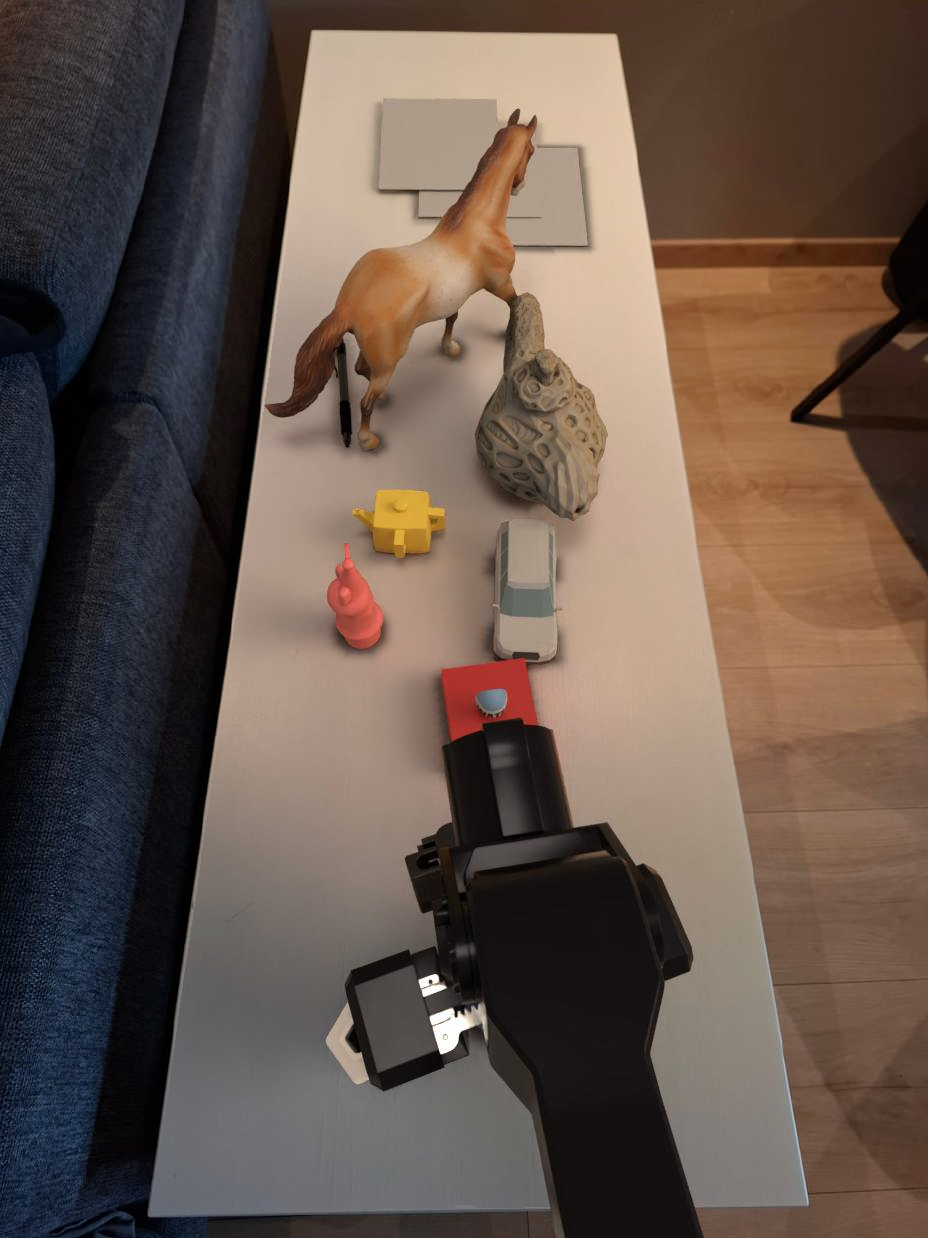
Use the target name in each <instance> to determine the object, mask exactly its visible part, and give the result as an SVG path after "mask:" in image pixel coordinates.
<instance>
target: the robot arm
mask: <svg viewBox="0 0 928 1238" xmlns="http://www.w3.org/2000/svg"><path fill="white" fill-rule="evenodd" d="M440 750H441V751H440V753H441V758H442V763H443V764H442V765H443V770H444V776H445V783H446V784H445V785H446V790H447V791H446V792H447V797H448V804H449V810H450V816H451V817H450V818H451V821H450V822H447V823H445V824H443V825H441V826H439V828H438V829H437V831H436V832H435V833H434V834H431V835H429V836H426V837H423V838H420V841H421V844H418V845H416V849H417V851H416V852H413V853H410V854H407V855H405V857H404V862H405V866H406V870H407V872H408V876H409V880H410V883H411V885H412V889H413V892H414V896H415V899H416V902H417V905H418V908H419V910H420V913H421V914H423V915H424V914H427V913H430V912H432V917H433V925H434V932H435V939H436V945H433V946H430V947H427V948H425V949H422V950H419V951H417V952H413V953H411V949H409V948H408V949H405V950H402V951H399V952H396V953H394V954H392V955H389V956H386V957H383V958H380V959H378V960H375V961H373V962H370V963H366V964H365V965H361V966H359V967H356V968H353V969H351V970H350V972H349V973H348V976H347V978H346V980H345V982H344V991H345V997H346V1000H347V1002H348V1004H349V1008H350V1011H351V1015H352V1019H353V1023H354V1027H355V1030H356V1034H357V1038H358V1042H359V1046H360V1049H361V1053H362V1057H363V1061H364V1064H365V1068H366V1072H367V1075H368V1078H369V1080H368V1081H369V1083H370V1085H371V1086H373V1087H374V1088H376V1089H378V1090H380V1091H382V1092H386V1091H389V1090H391V1089H394V1088H397V1087H400V1086H402V1085H404V1084H407V1083H409V1082H412V1081H415V1080H417V1079H419V1078H420V1079H421V1078H422V1077H425V1076H427V1075H430V1074H432V1073H435V1072H438V1071H440V1070H442V1069H445V1068H446V1067H445V1066H446V1065H449V1064H451V1063H454V1062H457V1061H459V1060H461V1059H464V1058H467V1057H469V1056H470V1034H469V1029H472V1028H474V1027H478V1026H477V1025H479V1024H483V1029H484V1033H483V1035H484V1040H485V1046H486V1052H487V1057H488V1061H489V1065H490V1066H491V1069H492V1070H493V1071H494V1072H495V1073H496V1074H497V1076H499V1078H500V1079H501V1080H502V1081H503V1082H504V1083H505V1085H506V1086H507V1088H509V1089H510V1090H511V1092H512V1094H514V1095H515V1096H516V1098H517V1099H518V1100H519V1101H520V1102H521V1104H522V1105H523V1106H524V1107H525V1109H527V1111H528V1112H529V1113H530V1115H531V1118H532V1122H533V1123H532V1124H533V1128H534V1132H535V1137H536V1142H537V1147H538V1151H539V1158H540V1162H541V1168H542V1172H543V1177H544V1183H545V1188H546V1192H547V1198H548V1203H549V1209H550V1214H551V1219H552V1224H553V1229H554V1234H555V1238H705V1237H704V1233H703V1230H702V1226H701V1223H700V1219H699V1216H698V1214H697V1210H696V1207H695V1204H694V1200H693V1196H692V1193H691V1190H690V1187H689V1183H688V1179H687V1176H686V1173H685V1170H684V1166H683V1163H682V1160H681V1156H680V1153H679V1150H678V1147H677V1143H676V1140H675V1135H674V1133H673V1129H672V1126H671V1123H670V1120H669V1116H668V1113H667V1110H666V1107H665V1103H664V1100H663V1097H662V1093H661V1089H660V1086H659V1082H658V1078H657V1074H656V1071H655V1067H654V1063H653V1058H652V1055H651V1051H652V1047H653V1042H654V1038H655V1033H656V1029H657V1024H658V1019H659V1015H660V1010H661V1005H662V1002H663V997H664V993H665V985H666V982H667V981H670V980H672V979H674V978H677V977H679V976H682V975H686V974H687V973H690V972H691V969H692V965H693V962H694V959H695V958H694V953H693V946H692V944H691V942H690V939H689V937H688V935H687V932H686V930H685V928H684V926H683V923H682V920H681V918H680V917H679V914H678V912H677V910H676V908H675V905H674V903H673V900H672V897H671V896H670V893H669V891H668V889H667V886H666V885H665V882H664V879H663V878H662V876H661V875H660V874H659V873H658V871H657V870H656V869H655V868H652V867H651V866H649V865H647V864H645V863H640V864H636V863H635V861H634V860H633V858H632V857H631V856H630V854H629V853H628V850H627V849H626V848H625V846H624V845H623V843H622V842H621V841H620V839H619V837H618V836H617V834H616V832H615V831H614V830H613V828H612V827H611V825H610V824H609V822H608V821H606V822H600V823H594V824H587V825H580V826H574V820H573V816H572V811H571V807H570V802H569V798H568V793H567V788H566V784H565V779H564V775H563V770H562V765H561V761H560V760H561V759H560V756H559V752H558V746H557V742H556V738H555V732H554V729H551V728H549V727H547V726H543V725H539V724H538V725H528V724H524V722H523V719H522V718H521V717H520V718H514V719H507V720H500V721H493V722H486V723H482V730H480V731H476V732H473V733H470V734H467V735H465V736H462V737H460V738H458V739H456V740H454V741H452V742H451V741H450V742H449V743H447V744H446V743H445V744H443V745H442V746H441V749H440ZM474 1002H478V1010H476V1008H475V1007H474V1006H473V1005H472V1006H471V1012H469V1011H468V1009H467V1008H465V1007H464V1004H469V1003H474Z"/></svg>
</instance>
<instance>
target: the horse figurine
mask: <svg viewBox="0 0 928 1238" xmlns="http://www.w3.org/2000/svg"><path fill="white" fill-rule="evenodd" d="M520 116H521V109H520V108H516V109H514V111H513V112H512V113H511V114H510V116H509V118H508V120H507V123H508V124H507V127H505V128H501V129H500V130H499V131H498V132H497V133H496V135H495V137H494V141H493V143H492V145H491V146H490V147H489V148H488V149H487V151H486V152H485V154H484V155H483V157H482V158H481V159H480V161H479V163H478V165H477V169H476V172H475V173H474V176H473V177H472V179H471V181H470V182H469V183H468V184H467V186H466V187H465V189H464V191H463V193H462V194H461V195H460V197H459V199H458V201H457V202H456V203H455V204H454V205H452V206H451V207H450V208H449V209H448V211H447V212H446V213H445V214H444V215H443V217H440V218H441V219H440V220H439V221H438V223H437V225H436V227H435V228H434V229H433V230H432V232H430V234H429V235H427V236H426V237H425V238H424V239H423V238H422V240H420V241H417V242H415V243H412V244H409V245H408V244H407V245H402V246H401V245H400V246H396V247H378V248H374V249H371V250H369V251H367V252H365V253H364V254H363V255H362V256H361V257H360V258H359V259H358V260H357V261H356V262H355V264H354V265H353V267H352V268H351V269H350V271H349V273H348V274H347V275H346V278H345V279H344V281H343V283H342V285H341V287H340V290H339V292H338V295H337V297H336V300H335V302H334V303H335V305H334V308H333V309H332V310H331V312H330V313H329V314H328V315H327V316H325V317H324V318H323V319H322V320H321V321H320V323H319V324H318V325H317V326H316V327H315V328H313V330H312V331H311V332H310V333H309V335H308V336H307V338H305V341H304V342H303V343H302V344H301V346H300V347H299V349H298V351H297V353H296V356H295V363H294V370H293V386H292V391H291V395H290V396H289V398H288V399H287V400H286V401H283V402H275V403H266V404H264V407H265V409H266V410H267V411H268V413H269V414H270V415H272V416H273V417H276V418H283V419H285V418H291V417H294V416H296V415H298V414H299V413H301V412H304V411H305V410H307V409H308V408H310V406H311V405H312V404H314V403H315V402H316V400H317V399H318V398H319V395H320V394H321V393H322V392H323V391H324V389H325V388H326V385H327V384H329V381H330V380H331V378H332V376H333V374H334V371H335V370H334V368H335V365H336V353H335V352H334V351H333V349H334V348H337V347H339V345H340V344H341V341H342V338H343V339H344V336H345V335H346V334H347V333H349V334H351V335H353V336H354V338H355V340H356V343H357V346H358V348H359V353H358V356H357V359H356V361H355V363H354V372H355V373H356V374H355V375H357V376H362V377H364V378H365V380H367V381H368V386H367V391H366V392H365V394H364V395H363V397H362V398H361V399H360V402H359V409H360V415H361V417H360V427H359V429H358V432H357V434H356V437H357V440H359V444H360V446H362V448H363V449H364V450H366V451H370V450H374V449H376V448H377V447H378V446H379V445H380V439H379V438H378V437H377V435H374V434H373V433H372V432H371V418H372V417H371V416H372V414H373V412H374V409H375V405H376V401H377V399H379V400H385V399H386V395H387V394H386V388H387V386H388V385H389V383H390V381H391V379H392V378H393V375H394V372H395V370H396V368H397V365H398V363H399V362H400V360H401V359H402V358H404V357H405V356H406V354H407V352H408V350H409V346H410V343H411V340H412V338H413V334H414V332H415V330H416V329H417V328H419V327H421V326H423V325H425V324H428V323H433V322H437V321H441V320H445V327H444V332H443V335H442V336H441V340H440V344H441V347H442V348H443V350H444V352H445V354H446V355H447V356H448V357H456V356H458V355H459V354H460V353H461V347H460V345H459V344H458V343H457V341H454V340H453V330H454V325H455V322H456V321H457V319H458V317H459V310H461V308H462V307H463V306H464V304H465V303H466V302H467V301H468V299H469V298H470V297H471V296H473V295H474V294H476V293H477V292H480V291H481V290H485V291H486V292H488V293H489V294H492V296H495V297H496V298H497V299H499V300H501V301H503V302H505V303H506V304H507V306H508V307H509V308H510V307H511V304H512V301H513V300H514V299H515V298H517V297H518V296H519V295H518V294H517V292H516V288H515V287H514V284H513V279H512V276H511V274H512V272H513V269H514V266H515V264H516V250H515V247H514V245H512V243H511V241H510V239H509V236H508V235H507V234H506V216H507V210H508V205H509V201H510V195H512V196H517V195H518V193H519V191H520V190H521V189H522V188H523V187H524V186H525V185H526V179H525V173H526V168H527V164H528V162H529V160H530V158H531V156H532V155H533V153H534V150H535V148H534V146H533V145H532V143H531V138H532V136H533V134H534V132H535V129H537V127H538V117H537V114H534V115H533V116H532V118H531V119H530V121H529V122H528V123H529V124H528V126H526V125H524V124H517V123H519V121H520ZM506 329H507V327H506V328H505V331H504V334H505V335H506Z"/></svg>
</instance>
